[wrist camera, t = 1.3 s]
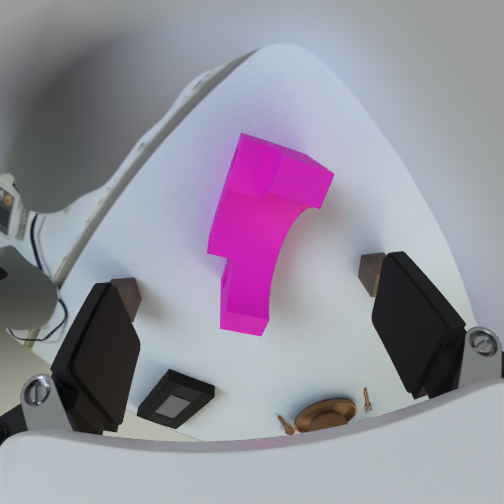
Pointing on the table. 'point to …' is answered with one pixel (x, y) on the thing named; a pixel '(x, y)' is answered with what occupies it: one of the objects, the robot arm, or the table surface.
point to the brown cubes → (367, 276)
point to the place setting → (325, 415)
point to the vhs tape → (175, 399)
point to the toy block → (259, 224)
